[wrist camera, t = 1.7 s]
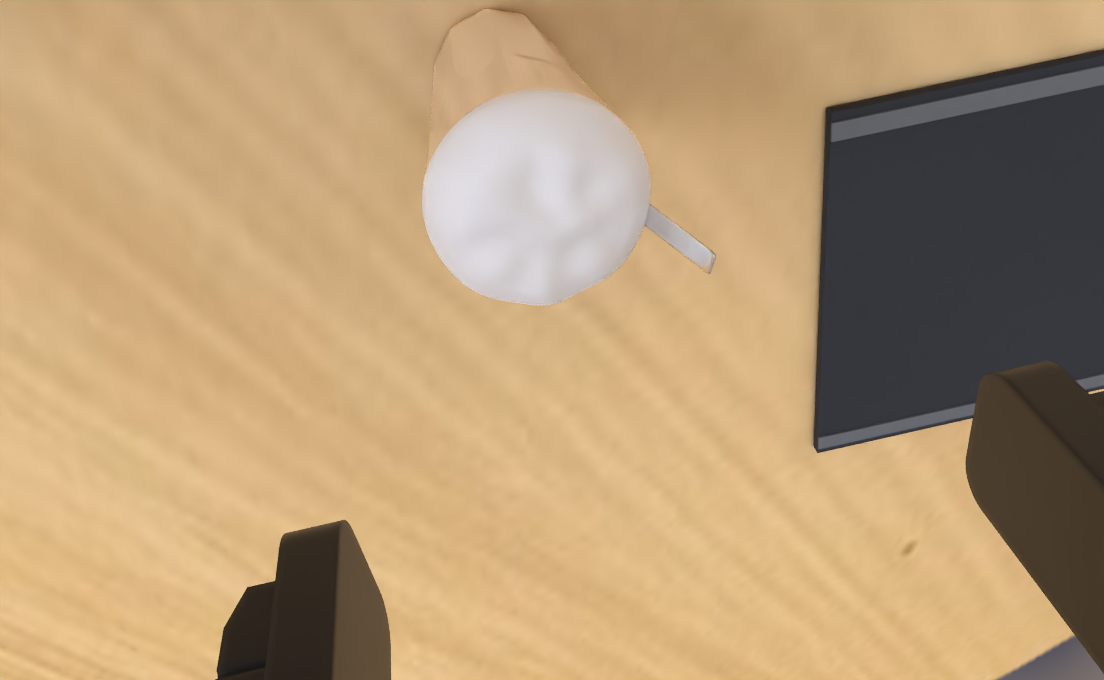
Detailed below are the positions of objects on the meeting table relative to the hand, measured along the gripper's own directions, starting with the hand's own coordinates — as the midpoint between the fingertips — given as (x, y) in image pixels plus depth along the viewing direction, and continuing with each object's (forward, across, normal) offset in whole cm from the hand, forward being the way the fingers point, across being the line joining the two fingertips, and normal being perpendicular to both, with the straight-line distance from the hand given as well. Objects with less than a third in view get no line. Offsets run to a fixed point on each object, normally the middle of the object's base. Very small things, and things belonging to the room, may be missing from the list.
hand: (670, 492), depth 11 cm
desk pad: (+16, -17, +10) cm, 25 cm away
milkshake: (+16, 0, 0) cm, 16 cm away
